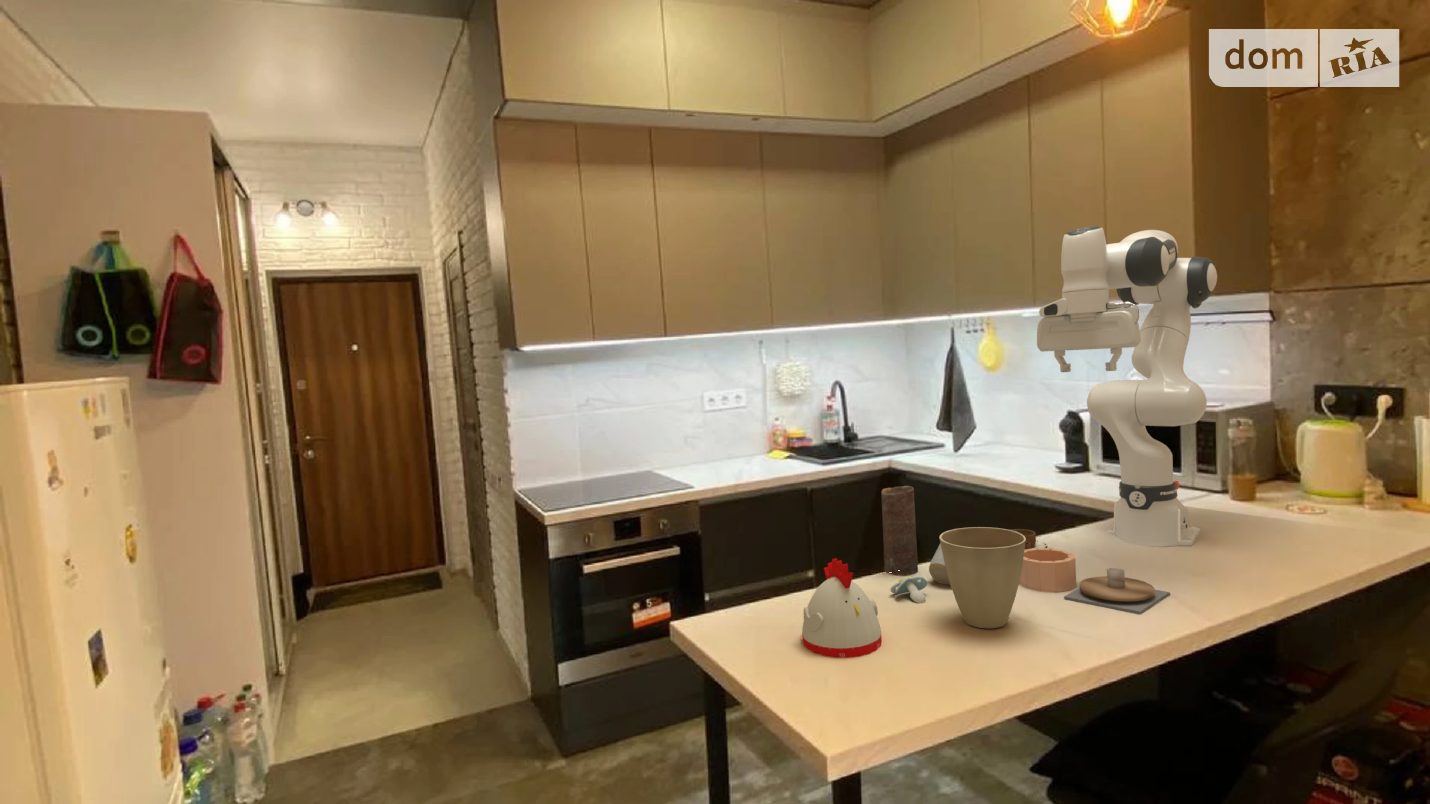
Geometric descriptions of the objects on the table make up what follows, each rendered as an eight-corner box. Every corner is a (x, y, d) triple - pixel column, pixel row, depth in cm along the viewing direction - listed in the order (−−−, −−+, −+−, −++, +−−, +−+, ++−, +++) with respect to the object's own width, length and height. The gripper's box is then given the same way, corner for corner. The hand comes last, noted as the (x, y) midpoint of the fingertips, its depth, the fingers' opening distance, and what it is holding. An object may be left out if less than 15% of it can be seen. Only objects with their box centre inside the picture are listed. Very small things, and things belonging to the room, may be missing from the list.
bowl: (1034, 572, 168) (1033, 545, 168) (1085, 581, 160) (1084, 553, 160) (1008, 585, 161) (1007, 557, 161) (1060, 595, 153) (1058, 565, 153)
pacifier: (911, 587, 162) (924, 570, 158) (926, 613, 158) (940, 596, 154) (883, 592, 159) (896, 574, 155) (898, 618, 154) (911, 601, 151)
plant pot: (929, 626, 141) (925, 541, 140) (963, 603, 152) (959, 524, 151) (1011, 643, 131) (1007, 551, 130) (1041, 616, 142) (1037, 531, 141)
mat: (1095, 581, 160) (1095, 579, 160) (1169, 594, 149) (1169, 592, 149) (1064, 598, 151) (1064, 596, 151) (1140, 614, 140) (1140, 611, 140)
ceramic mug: (942, 591, 165) (918, 566, 165) (958, 564, 169) (935, 539, 169) (977, 585, 156) (952, 558, 156) (993, 556, 160) (969, 530, 160)
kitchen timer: (829, 664, 128) (823, 575, 127) (788, 638, 141) (783, 557, 140) (897, 646, 134) (893, 561, 133) (853, 623, 146) (848, 545, 145)
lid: (1097, 580, 159) (1096, 557, 159) (1165, 592, 149) (1165, 568, 149) (1067, 596, 151) (1066, 572, 150) (1138, 610, 141) (1137, 584, 141)
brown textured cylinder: (919, 580, 169) (914, 490, 167) (885, 581, 170) (880, 491, 169) (917, 570, 176) (912, 484, 175) (884, 570, 178) (879, 485, 176)
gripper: (1145, 300, 155) (1147, 369, 156) (1046, 309, 171) (1048, 371, 171) (1131, 300, 151) (1134, 371, 152) (1032, 309, 167) (1034, 373, 167)
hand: (1087, 371), depth 162 cm, fingers open, 8 cm apart
